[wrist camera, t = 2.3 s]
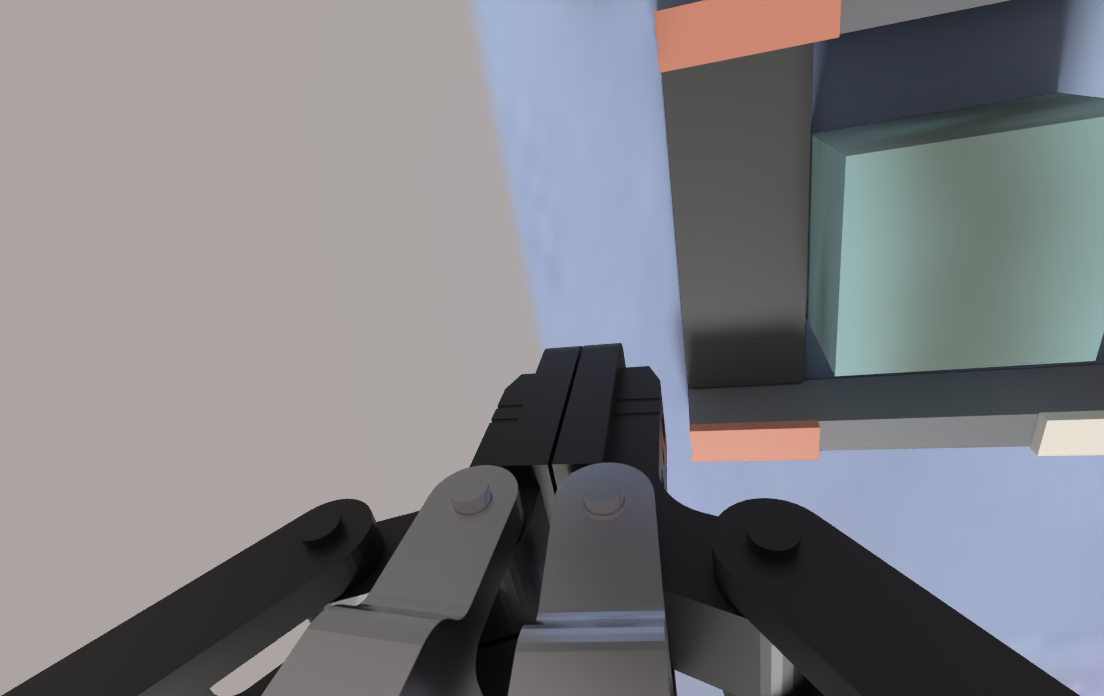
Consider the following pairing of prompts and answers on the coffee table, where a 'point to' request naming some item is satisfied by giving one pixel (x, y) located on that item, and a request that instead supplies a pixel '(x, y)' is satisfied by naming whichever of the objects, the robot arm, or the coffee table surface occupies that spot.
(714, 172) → the open tray box
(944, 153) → the teal block
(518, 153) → the coffee table surface
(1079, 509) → the coffee table surface
